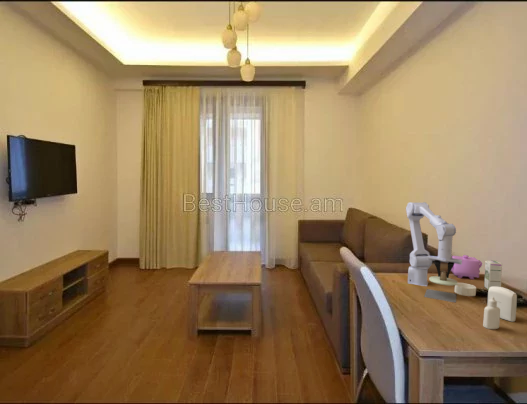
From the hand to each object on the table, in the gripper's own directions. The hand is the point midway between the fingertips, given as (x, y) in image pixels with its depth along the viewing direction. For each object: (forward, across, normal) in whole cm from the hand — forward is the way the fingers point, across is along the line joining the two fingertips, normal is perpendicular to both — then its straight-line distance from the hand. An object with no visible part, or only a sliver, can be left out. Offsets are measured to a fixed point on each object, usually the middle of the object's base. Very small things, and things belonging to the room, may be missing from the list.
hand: (443, 276), depth 162 cm
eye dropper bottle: (+10, +18, -28) cm, 35 cm away
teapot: (+10, +7, +43) cm, 45 cm away
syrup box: (+10, +21, +26) cm, 35 cm away
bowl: (+10, +9, +10) cm, 17 cm away
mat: (+10, -1, -1) cm, 10 cm away
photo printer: (+10, +22, -14) cm, 28 cm away
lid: (+2, 0, 0) cm, 2 cm away
